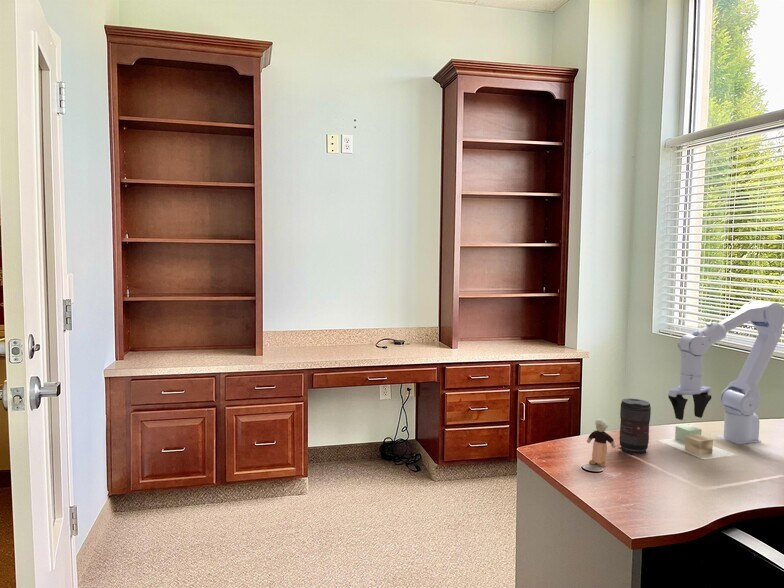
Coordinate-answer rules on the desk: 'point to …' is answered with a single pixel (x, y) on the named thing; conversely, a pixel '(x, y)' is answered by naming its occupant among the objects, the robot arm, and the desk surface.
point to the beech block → (698, 444)
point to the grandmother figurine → (600, 443)
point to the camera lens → (634, 426)
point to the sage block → (686, 431)
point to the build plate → (681, 446)
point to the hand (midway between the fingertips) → (688, 417)
